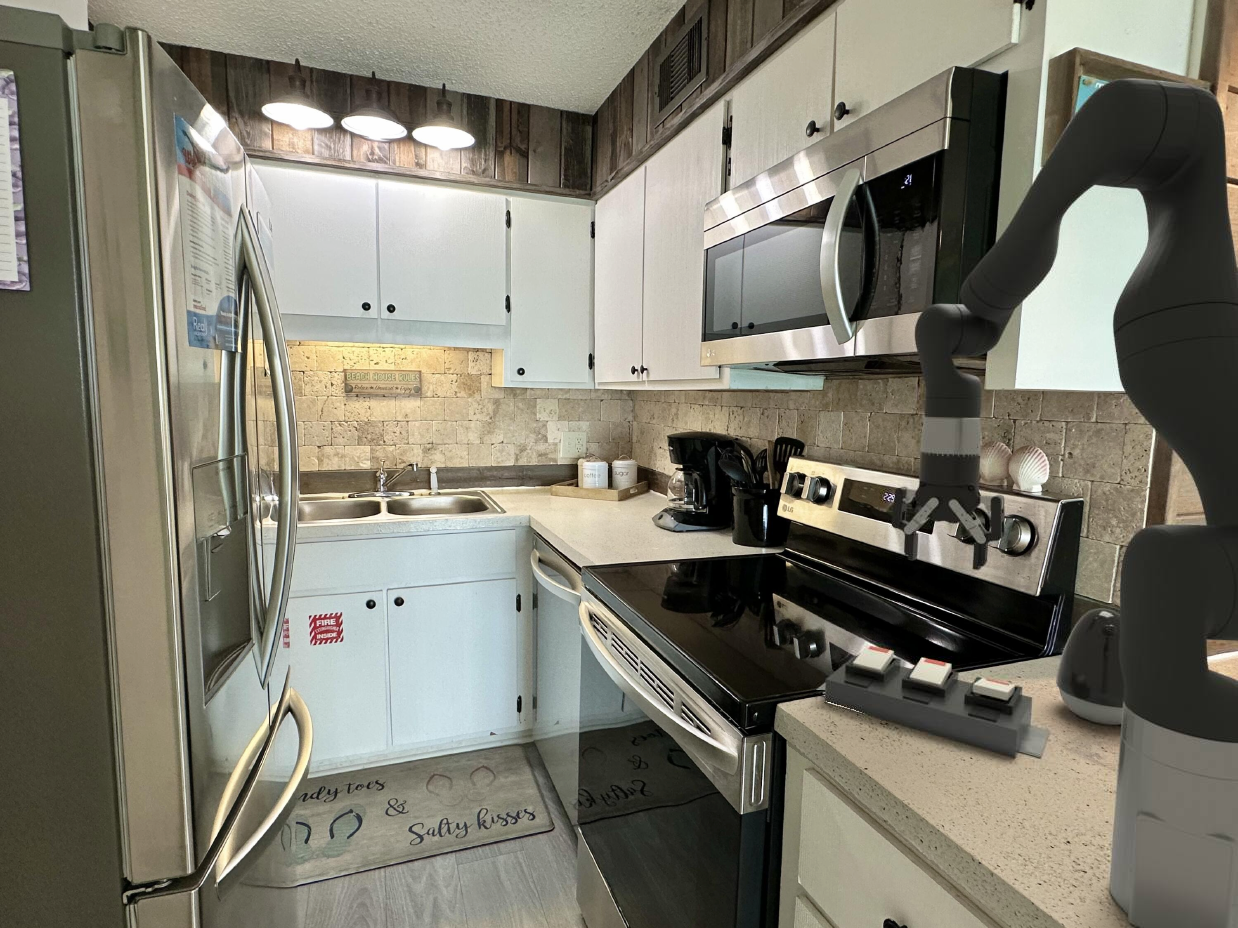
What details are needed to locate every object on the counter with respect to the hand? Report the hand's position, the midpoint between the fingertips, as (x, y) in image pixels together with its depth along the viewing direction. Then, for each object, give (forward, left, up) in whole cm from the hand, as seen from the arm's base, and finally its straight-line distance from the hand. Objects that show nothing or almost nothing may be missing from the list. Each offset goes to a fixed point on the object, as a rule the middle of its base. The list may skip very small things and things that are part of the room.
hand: (944, 563), depth 97 cm
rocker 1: (-2, +8, -15) cm, 18 cm away
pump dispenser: (+9, -19, -21) cm, 29 cm away
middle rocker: (-2, 0, -15) cm, 16 cm away
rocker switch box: (-5, 0, -20) cm, 21 cm away
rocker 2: (-2, -8, -15) cm, 17 cm away
